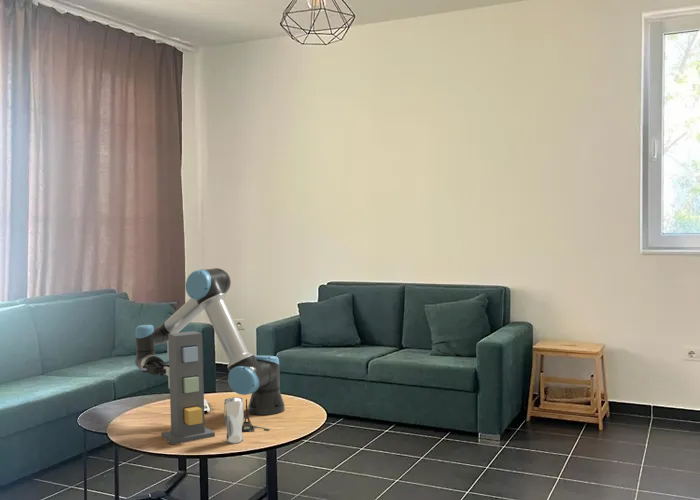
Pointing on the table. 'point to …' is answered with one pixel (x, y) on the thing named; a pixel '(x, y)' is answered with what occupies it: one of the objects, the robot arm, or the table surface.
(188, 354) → the blue button
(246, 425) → the eiffel tower figurine
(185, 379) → the sage button
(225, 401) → the beer glass
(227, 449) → the table surface
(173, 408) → the button column
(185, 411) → the amber button
